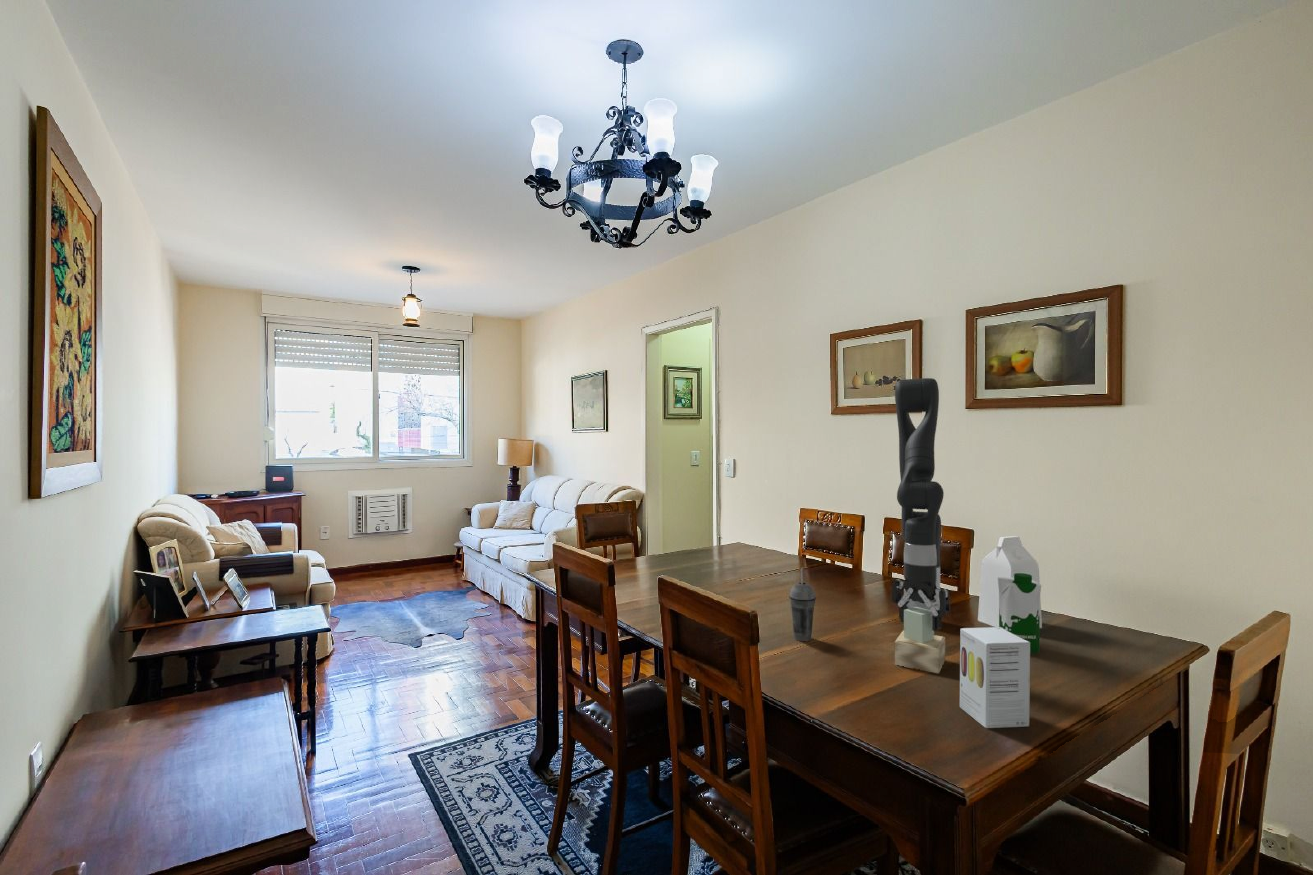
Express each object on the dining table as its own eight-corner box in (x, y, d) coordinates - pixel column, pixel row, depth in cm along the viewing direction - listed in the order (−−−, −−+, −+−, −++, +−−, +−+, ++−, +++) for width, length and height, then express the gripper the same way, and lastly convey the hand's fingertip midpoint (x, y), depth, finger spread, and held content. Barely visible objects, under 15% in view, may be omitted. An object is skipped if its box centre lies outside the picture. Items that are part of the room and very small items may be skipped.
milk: (1008, 616, 191) (1008, 532, 190) (1041, 627, 180) (1042, 539, 179) (977, 620, 187) (977, 535, 186) (1010, 632, 176) (1010, 541, 175)
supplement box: (958, 707, 129) (958, 627, 129) (999, 705, 130) (1000, 625, 130) (986, 729, 120) (986, 643, 119) (1031, 727, 120) (1031, 641, 120)
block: (903, 637, 154) (903, 609, 154) (916, 633, 157) (915, 606, 157) (922, 643, 150) (921, 614, 150) (934, 639, 153) (934, 611, 153)
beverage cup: (818, 636, 173) (818, 565, 173) (813, 644, 167) (813, 571, 166) (792, 633, 176) (792, 563, 176) (786, 641, 170) (786, 568, 169)
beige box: (894, 666, 152) (894, 640, 152) (903, 653, 161) (903, 629, 161) (938, 674, 147) (938, 648, 147) (945, 661, 155) (945, 636, 155)
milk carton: (1009, 654, 159) (1009, 576, 159) (993, 641, 168) (993, 568, 168) (1045, 655, 158) (1045, 577, 158) (1027, 642, 167) (1027, 569, 167)
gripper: (885, 558, 157) (885, 621, 157) (939, 568, 145) (939, 636, 146) (902, 554, 161) (902, 616, 162) (955, 564, 150) (955, 630, 150)
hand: (919, 625), depth 154 cm, fingers open, 8 cm apart
